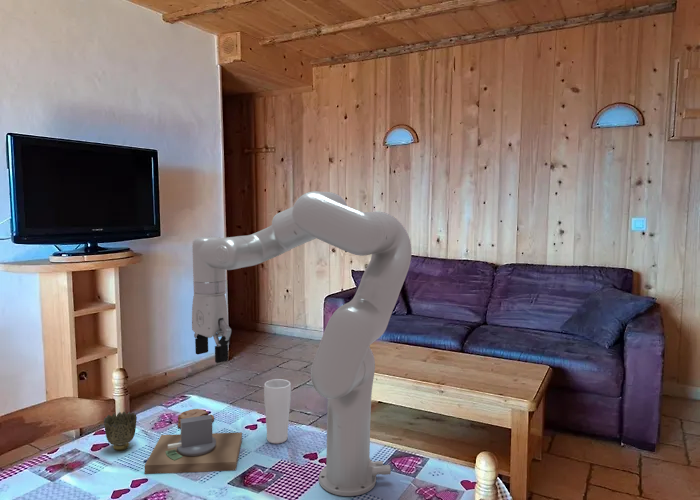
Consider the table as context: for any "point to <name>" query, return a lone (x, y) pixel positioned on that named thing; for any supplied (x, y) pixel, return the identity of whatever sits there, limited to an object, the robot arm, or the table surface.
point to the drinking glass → (277, 409)
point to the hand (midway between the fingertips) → (211, 357)
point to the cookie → (192, 415)
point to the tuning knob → (195, 436)
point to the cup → (120, 429)
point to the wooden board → (215, 460)
